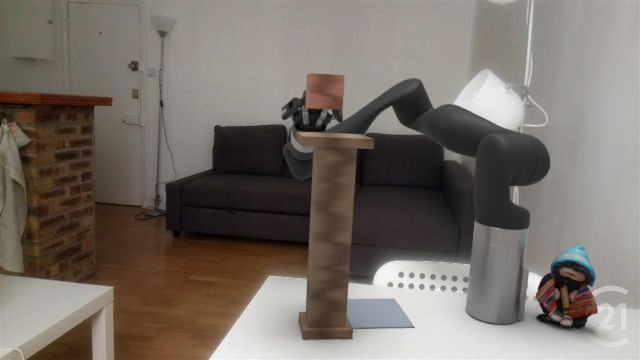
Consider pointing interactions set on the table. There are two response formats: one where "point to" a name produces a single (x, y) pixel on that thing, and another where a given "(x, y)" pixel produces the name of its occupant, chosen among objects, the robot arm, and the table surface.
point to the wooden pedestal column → (330, 232)
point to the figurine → (568, 290)
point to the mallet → (324, 91)
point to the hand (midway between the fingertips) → (318, 92)
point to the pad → (376, 314)
